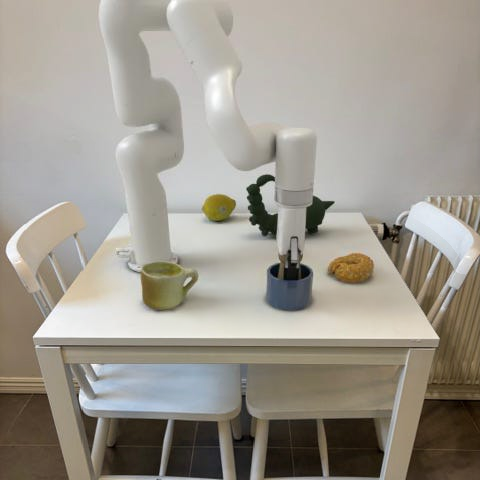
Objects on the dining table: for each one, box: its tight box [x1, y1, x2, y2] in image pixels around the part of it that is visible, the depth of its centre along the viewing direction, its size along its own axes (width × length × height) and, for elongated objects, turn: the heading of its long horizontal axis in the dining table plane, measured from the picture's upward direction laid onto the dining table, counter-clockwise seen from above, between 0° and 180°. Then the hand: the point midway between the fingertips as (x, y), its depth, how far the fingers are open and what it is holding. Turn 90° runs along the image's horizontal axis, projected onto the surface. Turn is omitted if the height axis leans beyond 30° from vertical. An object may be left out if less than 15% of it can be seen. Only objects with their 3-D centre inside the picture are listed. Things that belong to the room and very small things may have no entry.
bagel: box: [327, 252, 375, 284], centre depth 116 cm, size 10×11×5 cm
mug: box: [140, 261, 199, 311], centre depth 105 cm, size 12×10×10 cm
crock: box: [265, 262, 314, 312], centre depth 105 cm, size 10×10×7 cm
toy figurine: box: [245, 173, 335, 238], centre depth 136 cm, size 9×19×25 cm
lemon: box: [201, 193, 237, 222], centre depth 149 cm, size 11×8×8 cm
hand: (289, 277), depth 104 cm, fingers closed on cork, 4 cm apart
